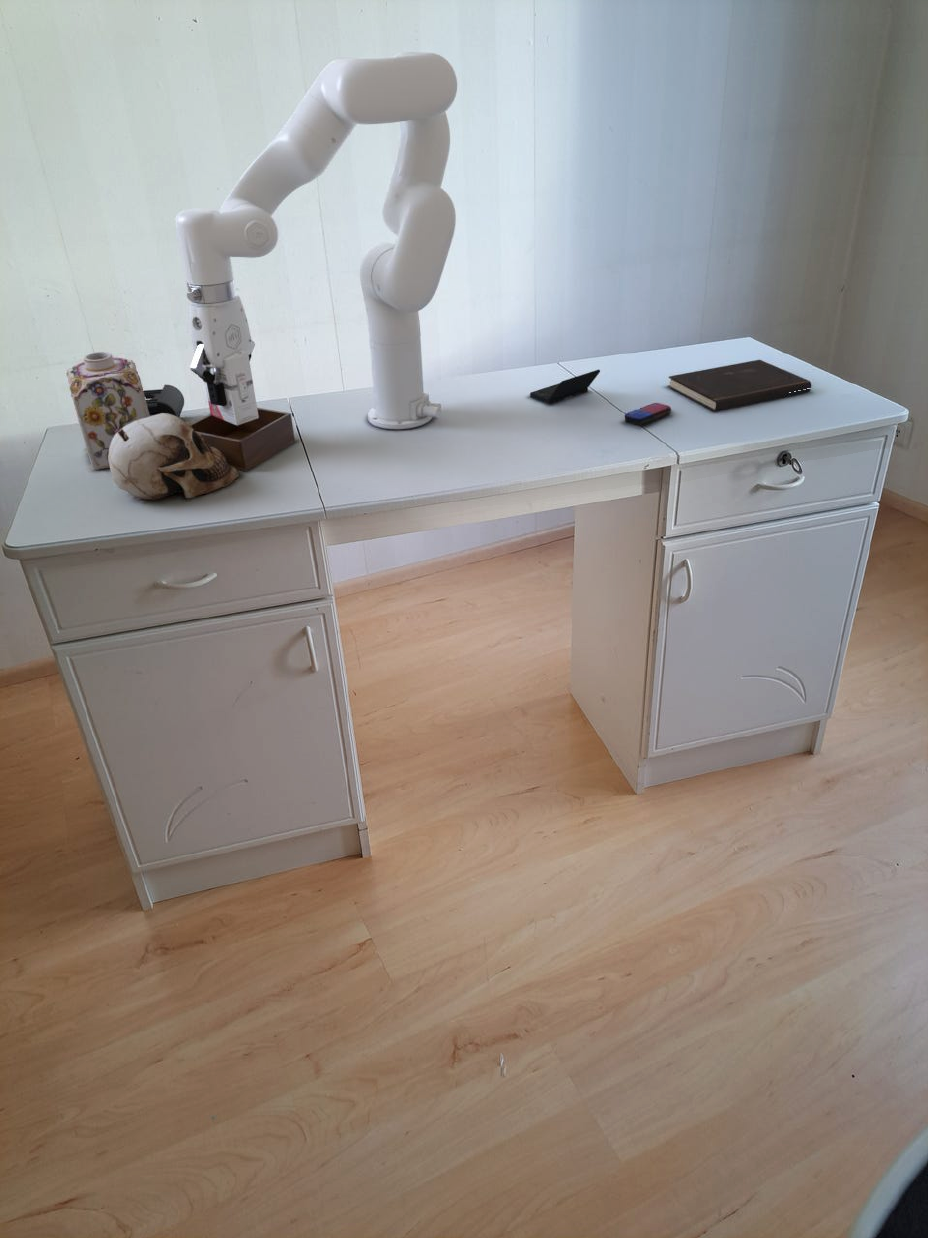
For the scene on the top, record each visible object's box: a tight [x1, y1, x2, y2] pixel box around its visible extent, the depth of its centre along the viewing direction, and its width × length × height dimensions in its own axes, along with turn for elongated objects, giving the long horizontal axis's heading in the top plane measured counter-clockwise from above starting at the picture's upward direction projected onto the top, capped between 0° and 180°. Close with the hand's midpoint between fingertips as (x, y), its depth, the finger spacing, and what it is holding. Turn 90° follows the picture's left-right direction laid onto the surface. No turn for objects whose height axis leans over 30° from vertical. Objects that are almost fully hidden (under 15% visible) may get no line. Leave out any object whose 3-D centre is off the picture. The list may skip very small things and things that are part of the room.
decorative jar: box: [66, 351, 150, 471], centre depth 153 cm, size 12×12×18 cm
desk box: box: [189, 407, 296, 472], centre depth 156 cm, size 14×14×6 cm
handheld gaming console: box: [529, 369, 601, 406], centre depth 174 cm, size 12×7×10 cm
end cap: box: [143, 384, 185, 418], centre depth 166 cm, size 10×7×7 cm
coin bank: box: [108, 413, 240, 501], centre depth 142 cm, size 16×17×13 cm
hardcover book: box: [667, 359, 812, 412], centre depth 175 cm, size 16×23×2 cm
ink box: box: [203, 350, 259, 426], centre depth 151 cm, size 9×5×12 cm, turn 47°
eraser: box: [624, 402, 672, 427], centre depth 164 cm, size 11×4×2 cm, turn 133°
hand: (231, 397), depth 152 cm, fingers closed on ink box, 5 cm apart
